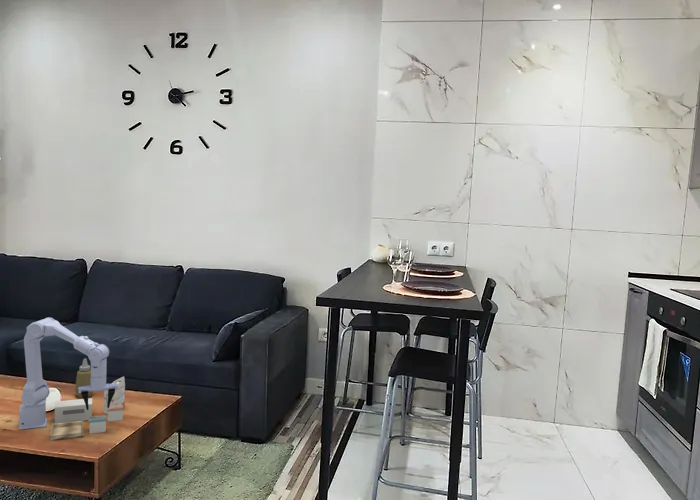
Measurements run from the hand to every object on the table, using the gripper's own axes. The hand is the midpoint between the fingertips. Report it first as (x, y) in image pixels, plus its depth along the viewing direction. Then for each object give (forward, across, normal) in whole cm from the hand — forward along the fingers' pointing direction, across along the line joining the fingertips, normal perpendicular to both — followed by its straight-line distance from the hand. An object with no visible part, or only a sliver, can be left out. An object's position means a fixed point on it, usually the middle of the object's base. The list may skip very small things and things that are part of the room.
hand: (97, 408), depth 227 cm
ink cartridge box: (+10, -7, -20) cm, 23 cm away
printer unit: (+9, +9, -15) cm, 20 cm away
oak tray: (+9, +11, -1) cm, 15 cm away
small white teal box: (+10, 0, 0) cm, 10 cm away
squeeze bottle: (+10, +4, -41) cm, 42 cm away
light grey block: (+10, -7, -10) cm, 15 cm away
